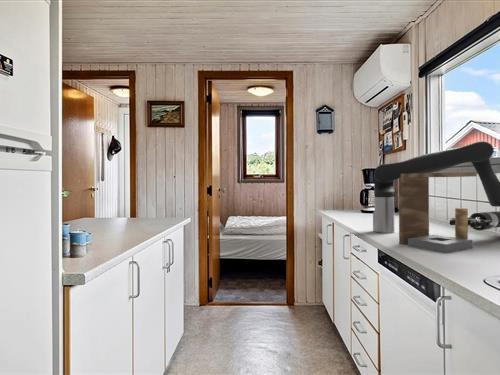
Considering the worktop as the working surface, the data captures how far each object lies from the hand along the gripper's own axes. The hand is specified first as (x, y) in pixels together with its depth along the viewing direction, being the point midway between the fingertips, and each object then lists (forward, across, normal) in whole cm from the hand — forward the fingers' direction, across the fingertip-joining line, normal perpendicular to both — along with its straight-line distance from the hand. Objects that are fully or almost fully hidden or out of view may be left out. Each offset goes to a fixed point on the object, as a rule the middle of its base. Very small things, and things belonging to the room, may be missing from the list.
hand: (460, 223), depth 152 cm
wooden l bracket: (+13, -2, +8) cm, 15 cm away
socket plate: (+14, 0, +8) cm, 16 cm away
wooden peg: (0, 0, +8) cm, 8 cm away
